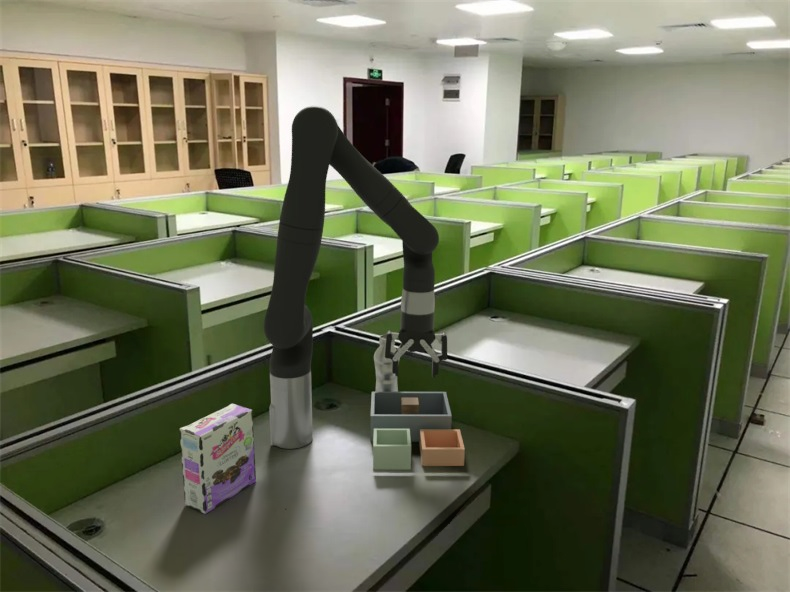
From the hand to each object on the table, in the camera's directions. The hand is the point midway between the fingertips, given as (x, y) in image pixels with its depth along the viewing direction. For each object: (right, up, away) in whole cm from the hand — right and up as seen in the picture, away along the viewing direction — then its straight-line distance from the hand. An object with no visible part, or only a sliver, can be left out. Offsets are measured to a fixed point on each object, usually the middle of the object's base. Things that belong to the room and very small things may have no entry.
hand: (415, 375), depth 145 cm
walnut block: (-1, -13, +7) cm, 15 cm away
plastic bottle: (-7, -11, +17) cm, 22 cm away
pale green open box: (-5, -18, -8) cm, 20 cm away
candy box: (-39, -21, -20) cm, 49 cm away
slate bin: (-1, -14, +7) cm, 16 cm away
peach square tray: (+6, -17, -6) cm, 19 cm away
